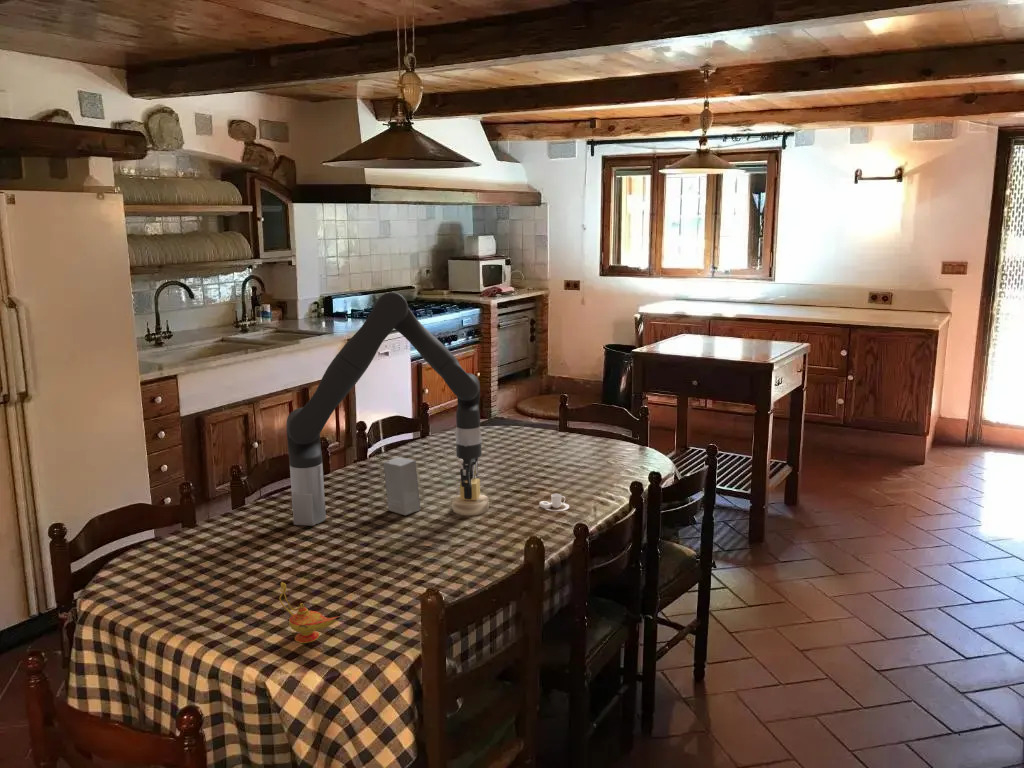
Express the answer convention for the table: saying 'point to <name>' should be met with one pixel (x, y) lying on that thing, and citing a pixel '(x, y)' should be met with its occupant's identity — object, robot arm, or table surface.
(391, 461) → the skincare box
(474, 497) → the ochre block
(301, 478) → the robot arm
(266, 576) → the table surface
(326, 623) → the magic lamp
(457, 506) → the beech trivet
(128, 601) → the table surface
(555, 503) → the teacup and saucer
